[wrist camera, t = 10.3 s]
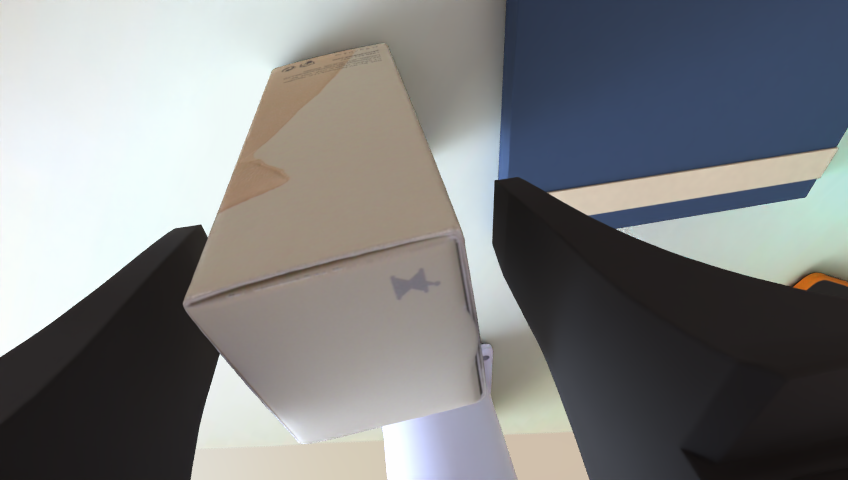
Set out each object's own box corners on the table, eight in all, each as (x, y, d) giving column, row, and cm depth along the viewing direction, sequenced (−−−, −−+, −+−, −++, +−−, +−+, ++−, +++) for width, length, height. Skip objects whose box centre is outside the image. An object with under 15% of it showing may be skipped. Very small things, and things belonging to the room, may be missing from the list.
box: (269, 66, 14) (155, 290, 5) (389, 38, 14) (469, 215, 5) (319, 192, 17) (298, 457, 9) (417, 169, 17) (493, 409, 9)
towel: (785, 185, 22) (807, 198, 21) (495, 233, 20) (503, 249, 19) (997, -193, 13) (1053, -204, 12) (512, -154, 12) (529, -162, 11)
